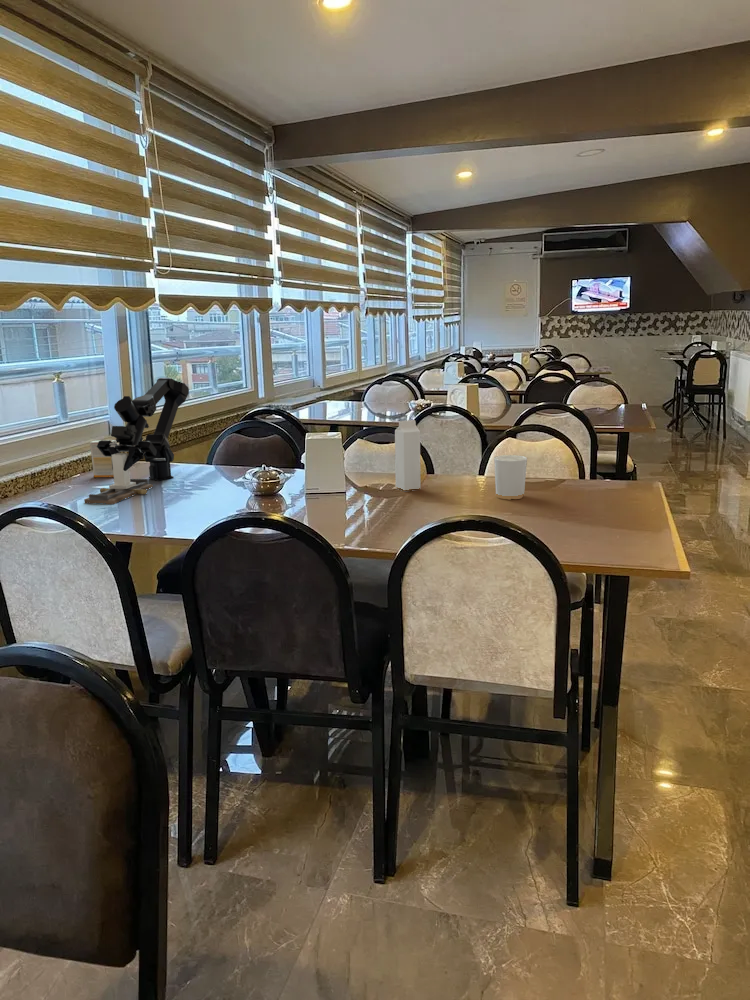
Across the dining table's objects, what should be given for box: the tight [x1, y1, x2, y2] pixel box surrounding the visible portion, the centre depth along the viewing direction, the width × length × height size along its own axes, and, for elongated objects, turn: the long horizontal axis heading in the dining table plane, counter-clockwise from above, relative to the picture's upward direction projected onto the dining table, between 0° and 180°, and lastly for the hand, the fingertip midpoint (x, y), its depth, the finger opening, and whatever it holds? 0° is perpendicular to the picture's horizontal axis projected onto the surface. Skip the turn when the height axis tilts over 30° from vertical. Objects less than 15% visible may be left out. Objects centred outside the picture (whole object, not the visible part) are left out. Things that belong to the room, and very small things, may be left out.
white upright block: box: [108, 452, 136, 492], centre depth 245 cm, size 6×6×12 cm
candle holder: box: [493, 454, 528, 496], centre depth 229 cm, size 10×10×12 cm
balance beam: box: [84, 478, 154, 505], centre depth 244 cm, size 25×16×3 cm, turn 167°
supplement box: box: [89, 439, 118, 478], centre depth 275 cm, size 8×5×13 cm, turn 84°
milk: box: [394, 419, 421, 490], centre depth 242 cm, size 6×6×22 cm
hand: (118, 470), depth 243 cm, fingers closed on white upright block, 4 cm apart
